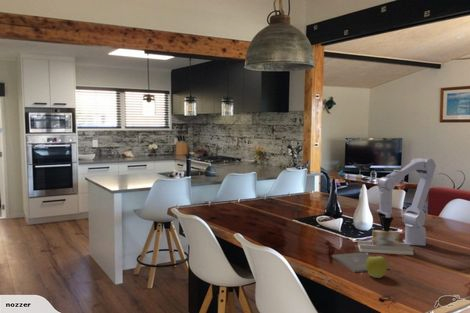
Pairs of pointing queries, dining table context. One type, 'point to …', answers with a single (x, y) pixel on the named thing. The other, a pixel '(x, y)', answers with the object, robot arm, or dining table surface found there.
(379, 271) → the apple
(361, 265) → the play button award
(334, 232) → the dining table surface
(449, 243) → the dining table surface
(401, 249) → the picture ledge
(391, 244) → the oak frame
